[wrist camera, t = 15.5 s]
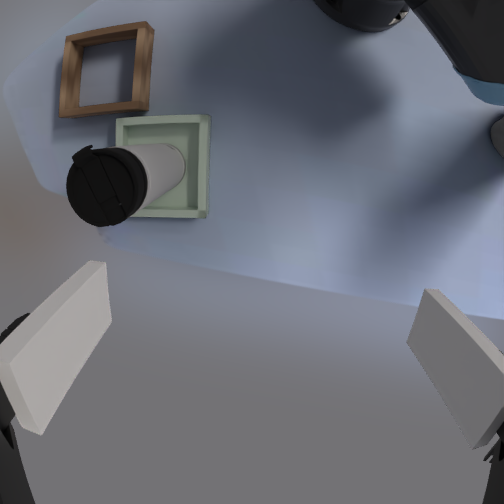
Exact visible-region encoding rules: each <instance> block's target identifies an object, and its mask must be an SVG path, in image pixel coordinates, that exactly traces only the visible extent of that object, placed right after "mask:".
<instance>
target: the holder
mask: <svg viewBox="0 0 504 504" xmlns="http://www.w3.org/2000/svg"><path fill="white" fill-rule="evenodd" d="M136 38H137V41H136V51H135V62H134V75H133V90H132V101H128V102H117V103H108V104H99V105H92V106H84V107H79V95H80V81H81V69H82V59H83V50H84V47H88V46H93V45H98V44H103V43H109V42H115V41H121V40H128V39H136ZM153 40H154V29H153V28H152V27H151V26H150V25H149V24H148V23H147V22H146V21H144V22H136V23H129V24H123V25H117V26H111V27H106V28H101V29H96V30H91V31H86V32H82V33H78V34H74V35H70V36H66V41H65V48H64V56H63V64H62V74H61V86H60V102H59V118H79V117H86V116H95V115H104V114H114V113H125V112H138V111H149V91H150V75H151V62H152V50H153Z"/></svg>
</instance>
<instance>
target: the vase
mask: <svg viewBox="0 0 504 504" xmlns="http://www.w3.org/2000/svg"><path fill="white" fill-rule="evenodd" d="M491 139H492V142H493V145H494V147H495V148H496V150H497V151H498V152H499V154H500V155H501V156H502V157H503V158H504V117H503V118H502V119H501V120H499V121H497V122H495V123H494V125H493V126H492V128H491Z"/></svg>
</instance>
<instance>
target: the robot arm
mask: <svg viewBox="0 0 504 504" xmlns="http://www.w3.org/2000/svg"><path fill="white" fill-rule="evenodd" d="M314 1H315V3H316V4H317V5H318V6H319V7H320V9H321V10H322V11H323V12H325V13H326V14H327V15H328V16H329V17H331V18H332V19H334V20H335V21H337V22H339V23H341V24H343V25H345V26H347V27H350V28H352V29H356V30H360V31H366V32H378V31H383V30H387V29H389V28H391V27H393V26H395V25H396V24H397V23H399V22H400V21H402V20H403V19H404V18H405V16H406V15H407V13H408V12H409V9H410V8H411V9H412V11H413V12H414V13H415V14H416V16H417V17H418V18H419V19H420V21H421V22H422V23H423V24H424V26H425V27H426V28H427V29H428V31H429V32H430V33H431V35H432V36H433V37H434V39H435V40H436V41H437V43H438V44H439V45H440V47H441V48H442V50H443V51H444V52H445V54H446V55H447V57H448V58H449V60H450V61H451V63H452V64H453V68H454V70H455V71H456V72H457V73H458V74H459V75H460V76H461V77H462V79H463V80H464V82H465V83H466V85H467V86H468V88H469V89H470V91H471V92H472V93H473V94H474V95H475V96H476V97H477V98H479V99H481V100H482V101H484V102H486V103H489V104H493V105H500V106H504V0H314ZM111 322H112V319H111V310H110V302H109V293H108V282H107V271H106V262H98V261H90V260H89V261H88V262H87V263H86V264H85V265H84V266H82V267H81V268H80V269H79V270H78V271H77V272H75V273H74V274H73V275H72V276H71V277H70V278H69V279H68V280H67V281H65V282H64V283H63V284H62V285H61V286H60V287H59V288H58V289H57V290H55V291H54V292H53V293H52V294H51V295H50V296H49V297H48V298H47V299H46V300H45V301H44V302H43V303H41V304H40V305H39V306H38V307H37V308H36V309H35V310H34V311H33V312H32V313H31V314H30V313H27V314H25V315H23V316H21V317H20V318H17V319H16V320H15V321H14V322H13V323H12V324H11V325H9V326H8V329H5V330H4V331H3V332H2V333H1V336H0V504H35V501H34V499H33V496H32V493H31V490H30V487H29V484H28V481H27V478H26V474H25V471H24V468H23V464H22V461H21V457H20V453H19V449H18V445H17V441H16V437H15V432H14V429H13V427H12V425H11V423H10V422H11V420H12V419H13V417H14V416H15V415H16V417H17V419H18V421H19V423H20V425H21V426H22V428H24V429H27V430H29V431H32V432H34V433H37V434H39V435H42V434H43V432H44V430H45V429H46V427H47V425H48V423H49V422H50V420H51V418H52V416H53V415H54V413H55V411H56V410H57V408H58V406H59V404H60V403H61V401H62V399H63V398H64V396H65V394H66V393H67V391H68V389H69V388H70V386H71V385H72V383H73V381H74V380H75V378H76V376H77V375H78V373H79V371H80V370H81V368H82V367H83V365H84V364H85V362H86V360H87V359H88V357H89V356H90V354H91V353H92V351H93V349H94V348H95V347H96V345H97V343H98V342H99V340H100V339H101V337H102V336H103V334H104V333H105V331H106V330H107V328H108V327H109V325H110V324H111ZM407 344H408V346H409V347H410V349H411V350H412V352H413V353H414V355H415V356H416V358H417V359H418V361H419V362H420V364H421V365H422V367H423V369H424V370H425V372H426V373H427V375H428V376H429V378H430V380H431V381H432V383H433V384H434V386H435V388H436V389H437V391H438V392H439V394H440V396H441V397H442V399H443V401H444V402H445V404H446V406H447V407H448V409H449V411H450V412H451V414H452V416H453V417H454V419H455V421H456V423H457V424H458V426H459V428H460V430H461V431H462V433H463V435H464V437H465V438H466V440H467V442H468V444H469V445H470V447H471V449H472V450H473V449H476V448H479V447H482V446H485V445H487V444H488V443H489V441H490V440H491V439H492V438H493V436H494V435H495V434H496V432H497V434H498V435H499V437H500V438H499V440H498V441H497V443H496V444H495V445H494V446H493V447H492V449H491V450H490V451H489V452H488V454H487V455H486V456H485V458H484V460H483V461H486V460H487V459H488V458H489V457H490V456H491V455H493V458H492V459H491V460H490V462H489V463H492V464H491V470H490V474H489V479H488V484H487V488H486V492H485V496H484V499H483V504H504V354H503V353H502V352H501V351H500V350H499V349H497V348H496V347H495V345H494V344H492V342H491V341H490V340H489V339H488V338H487V337H486V336H485V335H484V334H483V333H482V332H481V331H480V330H479V329H478V328H477V327H476V326H475V325H474V324H473V323H472V322H471V321H470V320H469V319H468V318H467V317H466V316H465V315H464V314H463V313H462V312H461V311H460V310H459V309H458V308H457V307H456V306H455V305H454V304H453V303H452V302H451V301H450V300H449V299H448V298H447V297H446V296H445V295H444V294H443V293H442V292H441V291H440V290H438V289H424V292H423V296H422V299H421V302H420V305H419V308H418V311H417V314H416V317H415V320H414V323H413V326H412V329H411V331H410V334H409V337H408V340H407Z"/></svg>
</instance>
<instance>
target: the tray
mask: <svg viewBox="0 0 504 504" xmlns="http://www.w3.org/2000/svg"><path fill="white" fill-rule="evenodd" d="M210 129H211V116H210V115H164V116H144V117H129V118H116V146H127V145H141V144H158V143H167V144H171V145H173V146H175V147H176V148H178V149H179V150H180V151H181V153H182V154H183V156H184V159H185V162H186V171H185V175H184V177H183V179H182V180H181V182H180V183H179V184H178V185H177V186H175V187H174V188H172V189H171V190H169V191H168V192H166V193H165V194H163V195H162V196H160V197H159V198H157V199H156V200H154V201H153V202H151V203H150V204H149V205H147V206H146V207H144V208H143V209H141V210H140V211H138V212H137V213H136V214H134V215H132V216H131V217H175V218H206V217H207V215H208V212H209V160H210Z"/></svg>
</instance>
